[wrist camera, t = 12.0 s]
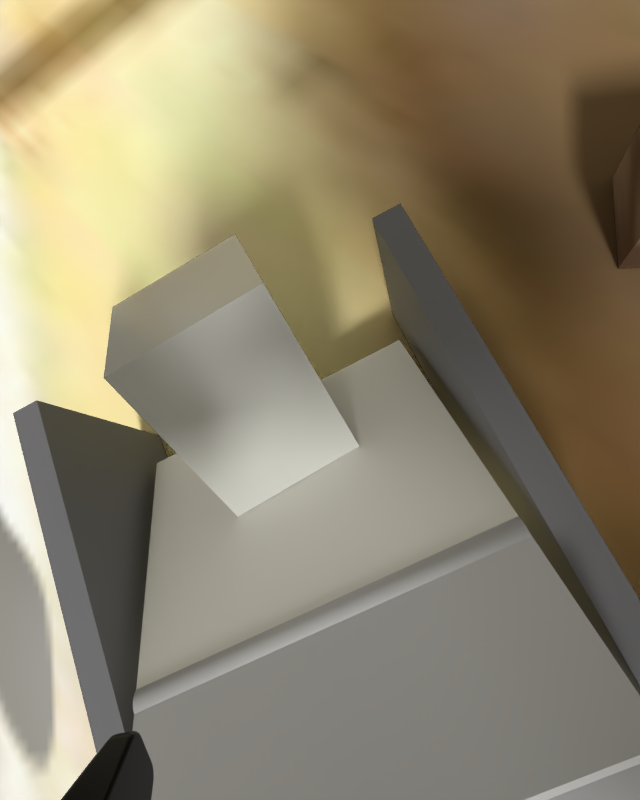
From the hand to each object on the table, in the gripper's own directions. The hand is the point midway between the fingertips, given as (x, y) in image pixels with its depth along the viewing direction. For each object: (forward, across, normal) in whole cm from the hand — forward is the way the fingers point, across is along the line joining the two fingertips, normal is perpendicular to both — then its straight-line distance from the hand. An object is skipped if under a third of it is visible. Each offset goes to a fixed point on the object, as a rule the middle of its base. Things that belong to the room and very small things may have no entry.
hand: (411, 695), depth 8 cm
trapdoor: (+8, +1, +5) cm, 9 cm away
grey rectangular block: (+12, +2, 0) cm, 12 cm away
